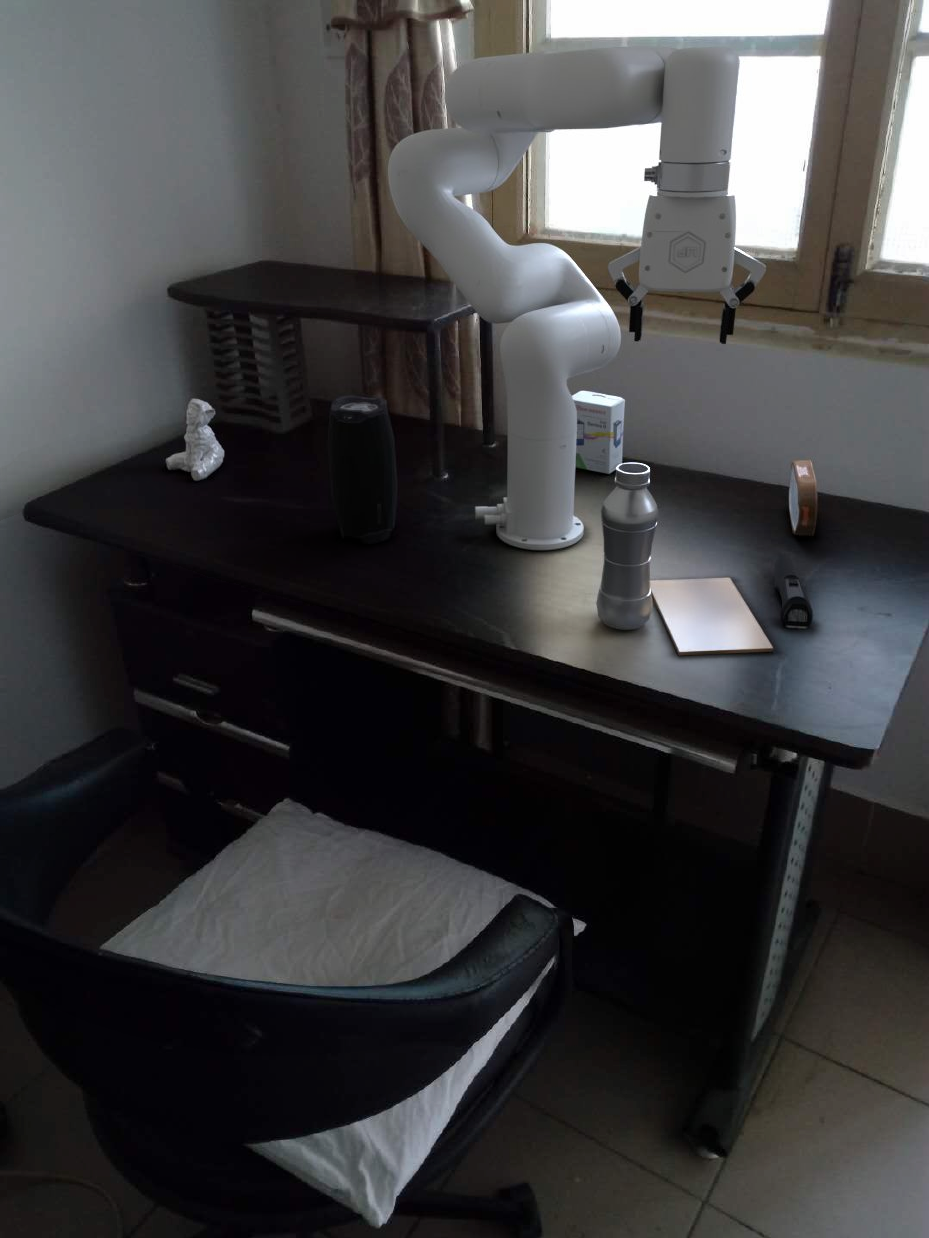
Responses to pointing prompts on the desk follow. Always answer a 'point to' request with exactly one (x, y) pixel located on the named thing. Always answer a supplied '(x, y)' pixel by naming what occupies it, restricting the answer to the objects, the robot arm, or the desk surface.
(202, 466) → the sitting furry creature
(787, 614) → the electric trimmer
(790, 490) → the tin
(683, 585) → the wooden board
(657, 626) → the desk surface
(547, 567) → the desk surface
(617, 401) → the ink box
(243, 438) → the desk surface
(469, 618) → the desk surface
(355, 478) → the portable speaker
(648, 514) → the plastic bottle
